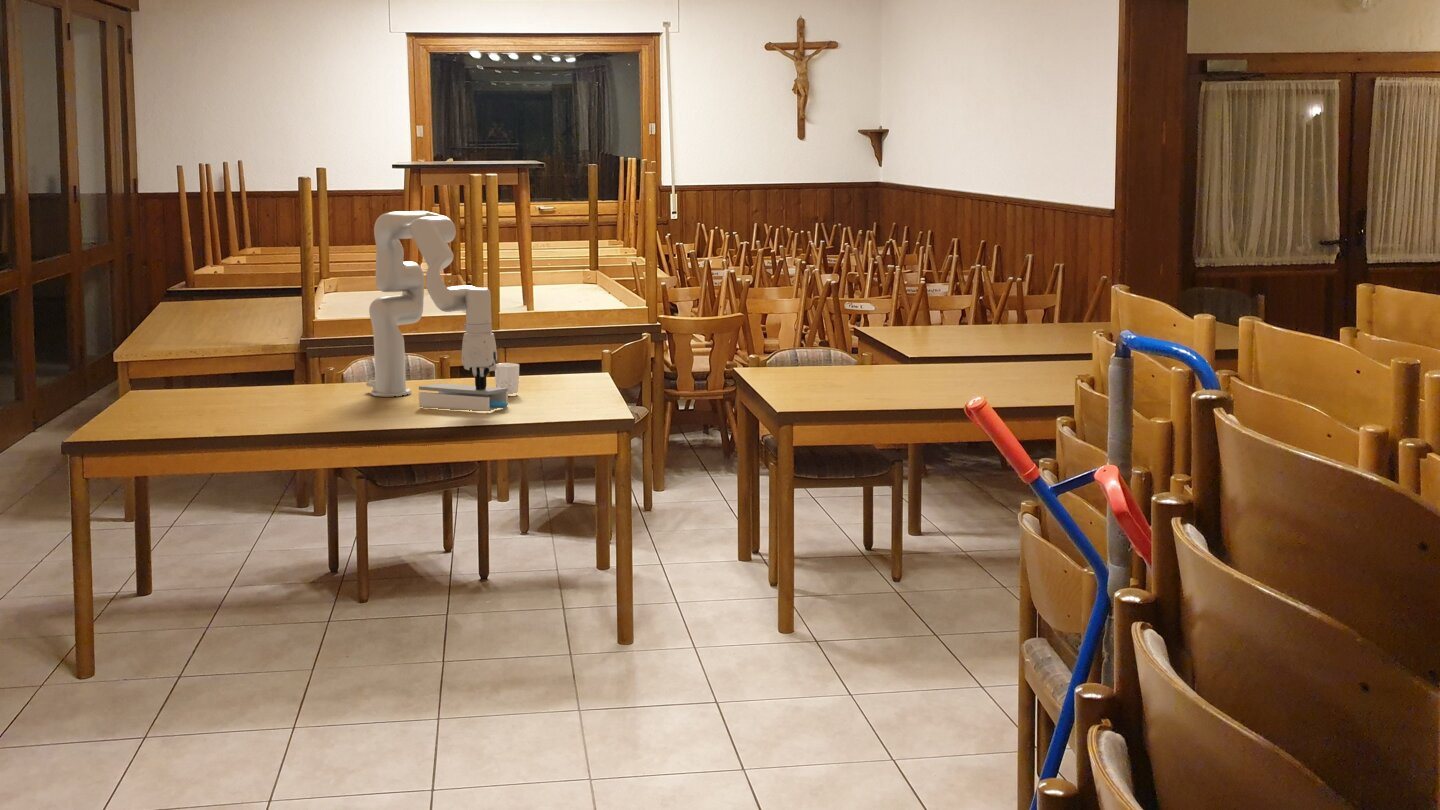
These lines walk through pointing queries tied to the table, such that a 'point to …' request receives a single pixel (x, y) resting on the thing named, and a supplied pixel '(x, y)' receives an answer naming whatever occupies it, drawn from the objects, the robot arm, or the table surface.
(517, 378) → the white cup
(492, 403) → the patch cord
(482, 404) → the pale long box
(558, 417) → the table surface
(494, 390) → the cover
